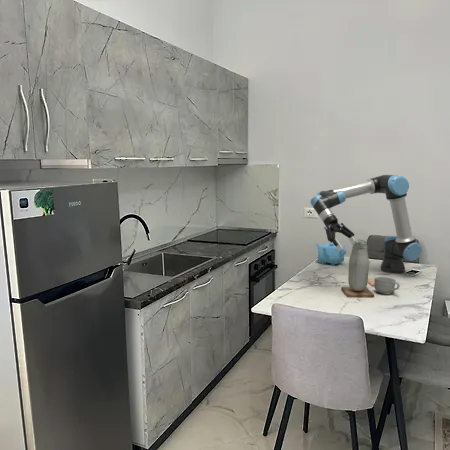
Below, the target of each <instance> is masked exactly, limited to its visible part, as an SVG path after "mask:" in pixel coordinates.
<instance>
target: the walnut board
mask: <svg viewBox="0 0 450 450" xmlns="http://www.w3.org/2000/svg"><path fill="white" fill-rule="evenodd" d="M340 289H341V292H343V294H344V295H345V296H346V298H365V299H366V298H373V299H374V298H375V293H373V291H371V290H370V288H368V286H366V288H365V289H364V290H362V291H354V290H352V289H351V288H350V286H341V287H340Z"/></svg>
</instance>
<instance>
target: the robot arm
mask: <svg viewBox="0 0 450 450" xmlns="http://www.w3.org/2000/svg"><path fill="white" fill-rule="evenodd" d="M409 188H410V183H409V181H408V179H407V178H406V177H405V176H403V175H399V174H383V175H378V176H375V177H372V178H368V179H367V180H366V181H363V182H358V183H353V184H349V185H345V186H342V187H337V188H334V189H329V190H320V191H318V192H317V194H316V195H314V196H313V197H312V198H311V199H310V202H309V203H310V204H311V206H312V208H313V210H315V212H316V214H317V215H318V216H319V218H320V220H321V221H322V222H323V225H324V228H323V229H324V230H325V233H326V238H327V241H328V242H329V243H333V244H334V245H335V246H336V248H337V249H338V251H339V252H340V251H341V250H342V249H343V248H342V246H343V245H341V243H340V241H338V239H337V238H336V233H339V234H341V235H343V236H345V237H346V238H348V240H349V242H350V244H351V245H352V246H353V243H354V242H355V241H356V240H357V239H356V238H354V237H355V235H356V234H355V233H354V232H353V231H352V230H351V229H350V228H348V227H347V226H346V225H344V223H343V222H342V223H339V222H338V221H339V219H338V218H337V217H336V215H335V213H334V212H333V210H332V208H334V207H336V206H338V205H342V204H343V203H346V200H347V199H349V198H354V197H358V196H362V195H366V194H370V195H373V194H385V198H386V200H387V201H389V204H390V208H391V214H392V218H393V223H394V228H395V233H396V235H389V236H388V235H386V236H385V238H384V242H383V243H384V245H383V246H384V247H383V259H382V261H381V264H380V266H379V267H380V268H379V269H380V271H381V272H384V273H388V274H389V273H390V274H403V273H405V272H406V267H405V264H404V263H405V262H404V260H405V261H409V262H410V261H416V260H417V259H419V258H420V256H421V254H422V246H421V244H420V243H418V242H417V239H416V236H415V235H413V232H412V227H411V223H410V222H411V221H410V218H409V213H408V212H409V211H408V208H407V201H406V197H407V196H408V195H407V193H408V191H409Z"/></svg>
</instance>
